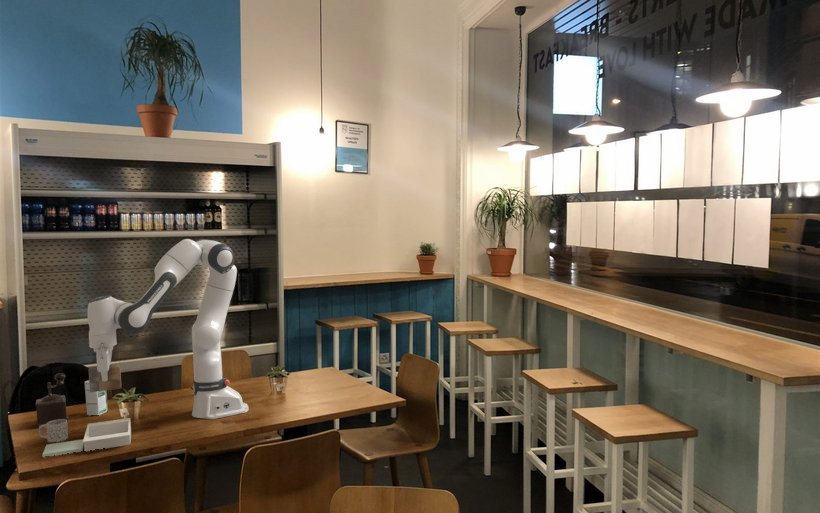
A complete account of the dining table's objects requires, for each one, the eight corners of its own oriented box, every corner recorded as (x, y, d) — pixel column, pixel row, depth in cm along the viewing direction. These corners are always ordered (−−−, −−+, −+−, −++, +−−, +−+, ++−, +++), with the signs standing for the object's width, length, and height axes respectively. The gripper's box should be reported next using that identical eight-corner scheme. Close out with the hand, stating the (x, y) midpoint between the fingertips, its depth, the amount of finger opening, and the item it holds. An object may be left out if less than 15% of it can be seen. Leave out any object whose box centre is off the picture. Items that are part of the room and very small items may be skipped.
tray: (131, 429, 237) (130, 417, 237) (130, 447, 218) (129, 434, 218) (88, 435, 231) (87, 423, 231) (83, 454, 212) (83, 441, 212)
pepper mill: (69, 423, 247) (66, 379, 246) (37, 428, 241) (34, 383, 240) (68, 413, 260) (65, 371, 259) (37, 418, 255) (34, 375, 253)
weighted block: (121, 385, 228) (120, 363, 227) (120, 388, 223) (119, 366, 223) (91, 389, 224) (89, 367, 223) (89, 392, 219) (88, 370, 219)
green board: (84, 442, 224) (84, 439, 224) (82, 451, 215) (82, 448, 215) (46, 448, 219) (46, 444, 219) (42, 457, 210) (42, 454, 210)
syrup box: (98, 415, 255) (96, 381, 255) (86, 415, 257) (84, 381, 256) (108, 411, 261) (106, 377, 260) (95, 411, 262) (94, 377, 261)
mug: (71, 436, 232) (70, 418, 231) (62, 442, 225) (61, 424, 224) (44, 437, 231) (43, 419, 231) (34, 443, 225) (33, 425, 224)
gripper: (111, 345, 214) (113, 384, 215) (113, 335, 233) (116, 371, 234) (91, 347, 212) (93, 386, 213) (95, 337, 230) (97, 373, 231)
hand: (105, 378), depth 223 cm, fingers closed on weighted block, 5 cm apart
